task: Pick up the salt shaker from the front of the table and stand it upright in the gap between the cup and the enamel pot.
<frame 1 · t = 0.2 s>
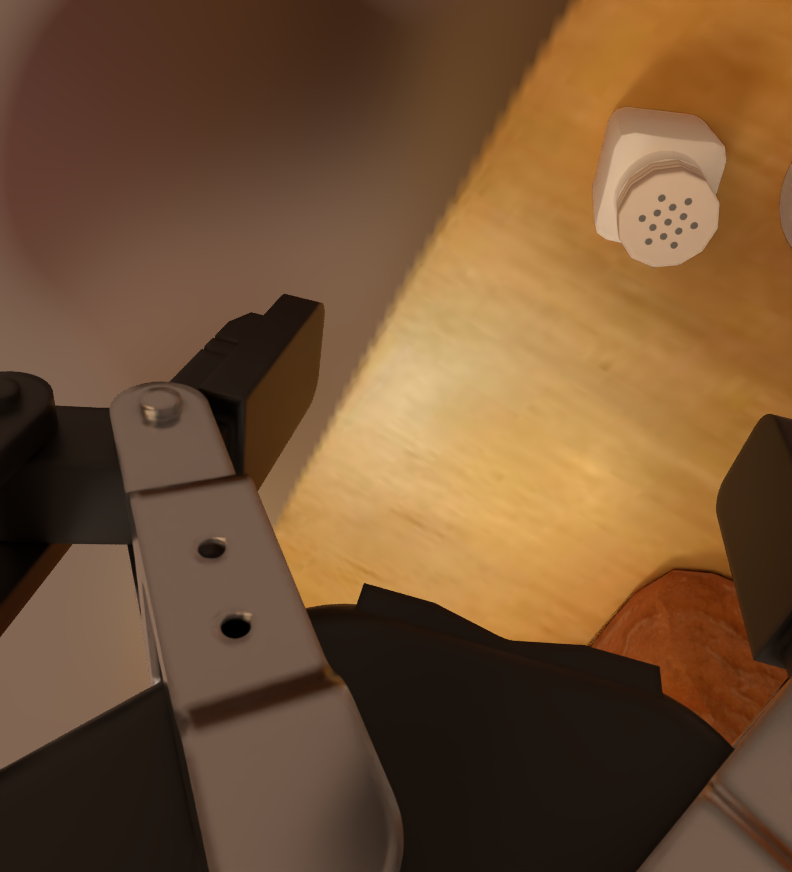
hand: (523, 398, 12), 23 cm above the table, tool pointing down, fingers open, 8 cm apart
salt shaker: (644, 156, 30), on the table
bread: (652, 695, 50), on the table
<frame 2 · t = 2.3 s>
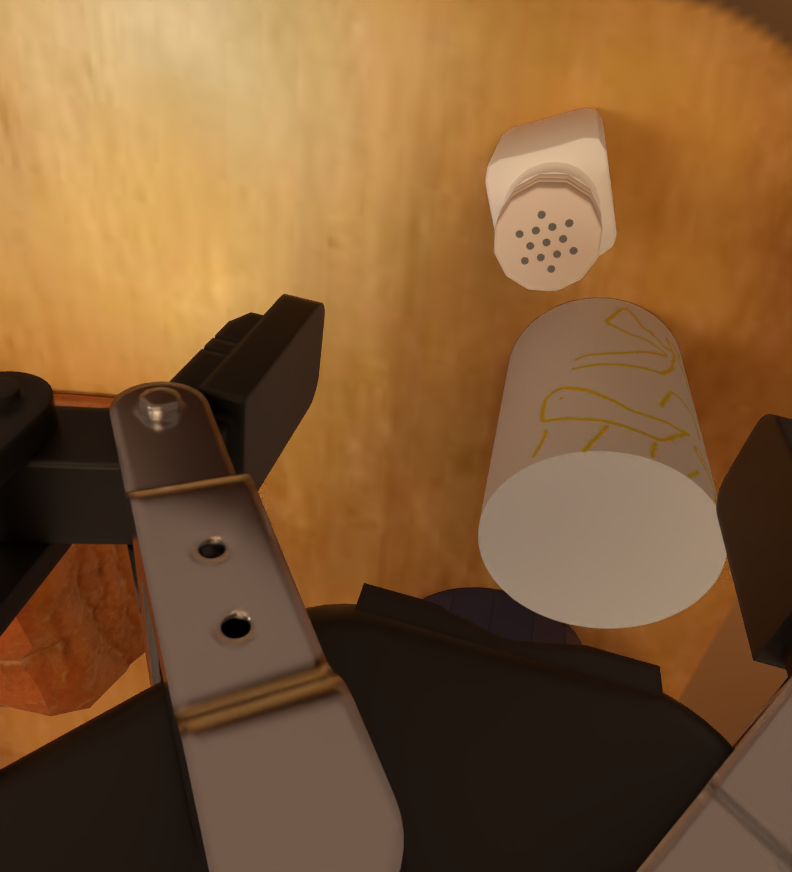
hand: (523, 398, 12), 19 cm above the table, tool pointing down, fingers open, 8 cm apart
salt shaker: (556, 165, 28), on the table
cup: (592, 374, 33), on the table
bread: (33, 467, 46), on the table
pot: (488, 653, 46), on the table
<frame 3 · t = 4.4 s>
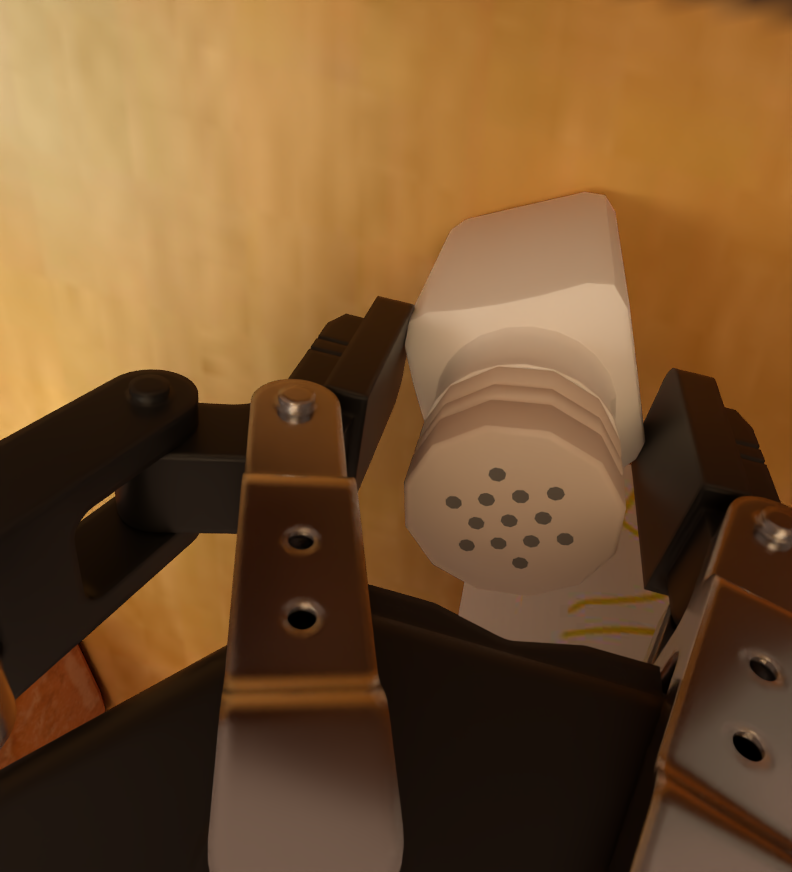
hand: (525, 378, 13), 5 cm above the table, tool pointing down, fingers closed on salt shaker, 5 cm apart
salt shaker: (539, 273, 17), on the table, touching gripper
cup: (594, 556, 22), on the table
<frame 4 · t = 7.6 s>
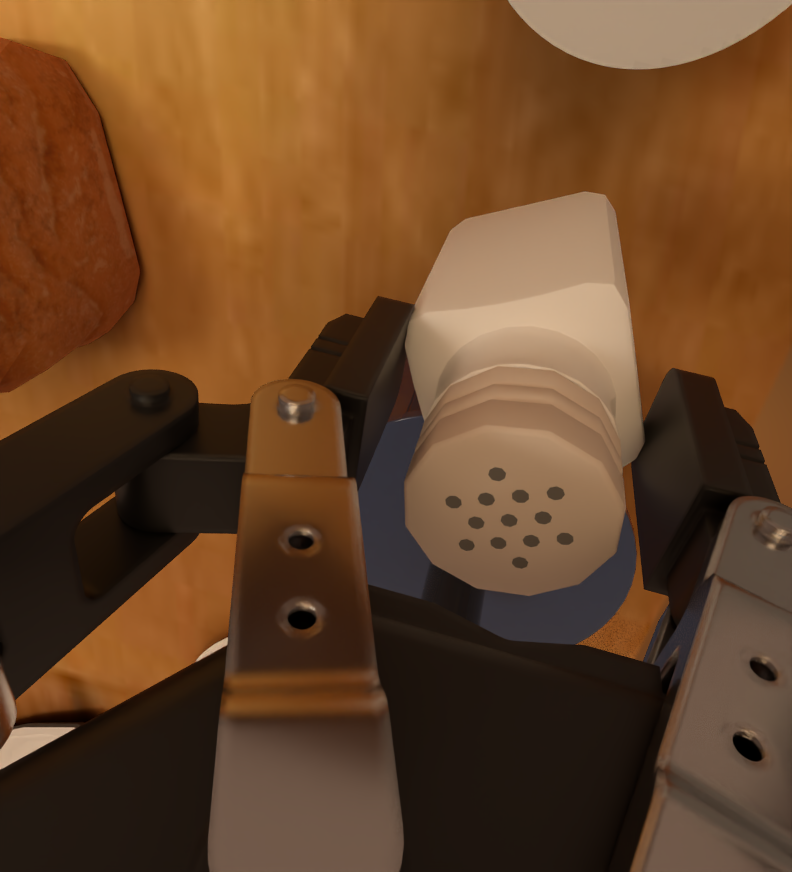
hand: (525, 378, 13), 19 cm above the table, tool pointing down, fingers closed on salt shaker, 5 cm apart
pot lid: (463, 546, 28), point 9 cm above the table, touching pot
salt shaker: (539, 273, 17), point 13 cm above the table, touching gripper
plate: (110, 790, 74), on the table
pot: (487, 423, 36), on the table
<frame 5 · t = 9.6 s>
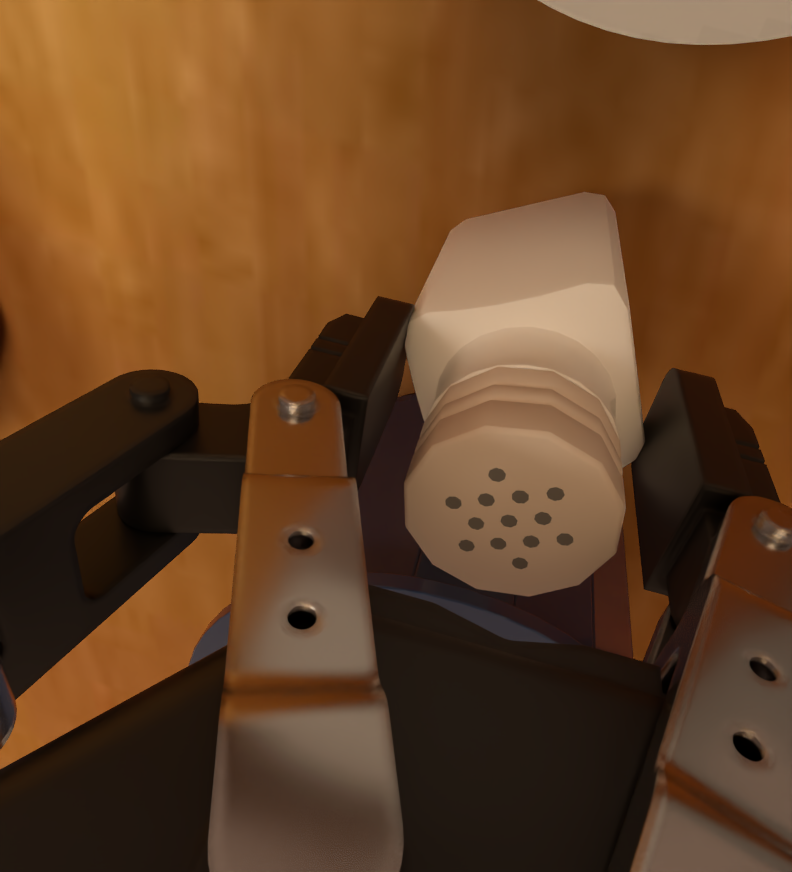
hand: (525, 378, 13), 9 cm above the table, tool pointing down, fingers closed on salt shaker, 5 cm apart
pot lid: (411, 737, 20), point 9 cm above the table, touching pot
salt shaker: (539, 273, 17), point 3 cm above the table, touching gripper
pot: (457, 525, 28), on the table
when the fingers open (5 cm above the table, at t = 11.0 s): salt shaker stays where it is, on the table.
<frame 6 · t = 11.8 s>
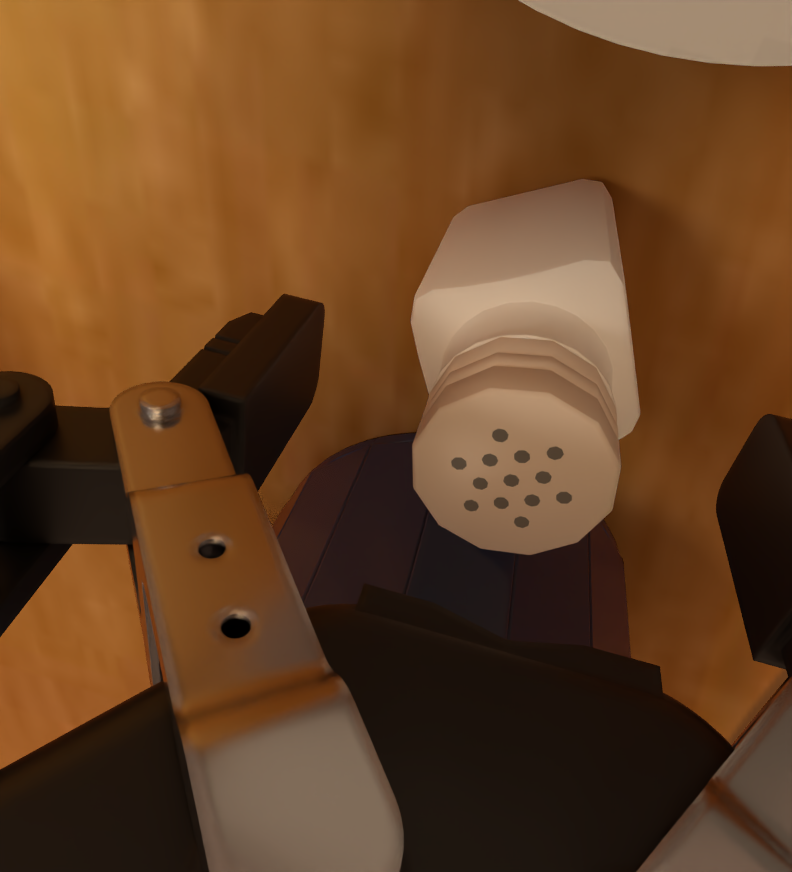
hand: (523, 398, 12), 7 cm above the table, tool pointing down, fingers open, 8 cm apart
salt shaker: (539, 259, 18), on the table
pot: (444, 573, 25), on the table
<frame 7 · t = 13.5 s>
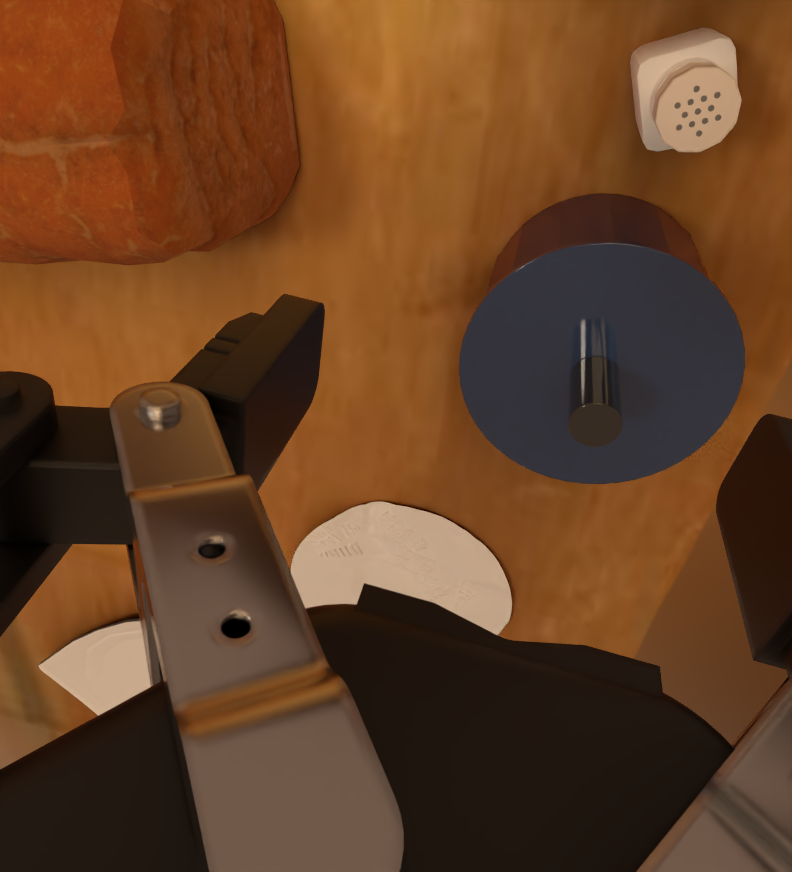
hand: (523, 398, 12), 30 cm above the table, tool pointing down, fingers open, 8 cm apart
pot lid: (594, 372, 34), point 9 cm above the table, touching pot
salt shaker: (672, 78, 35), on the table
plaque: (401, 585, 61), on the table
plate: (193, 692, 80), on the table
bread: (94, 95, 42), on the table
pot: (592, 298, 42), on the table
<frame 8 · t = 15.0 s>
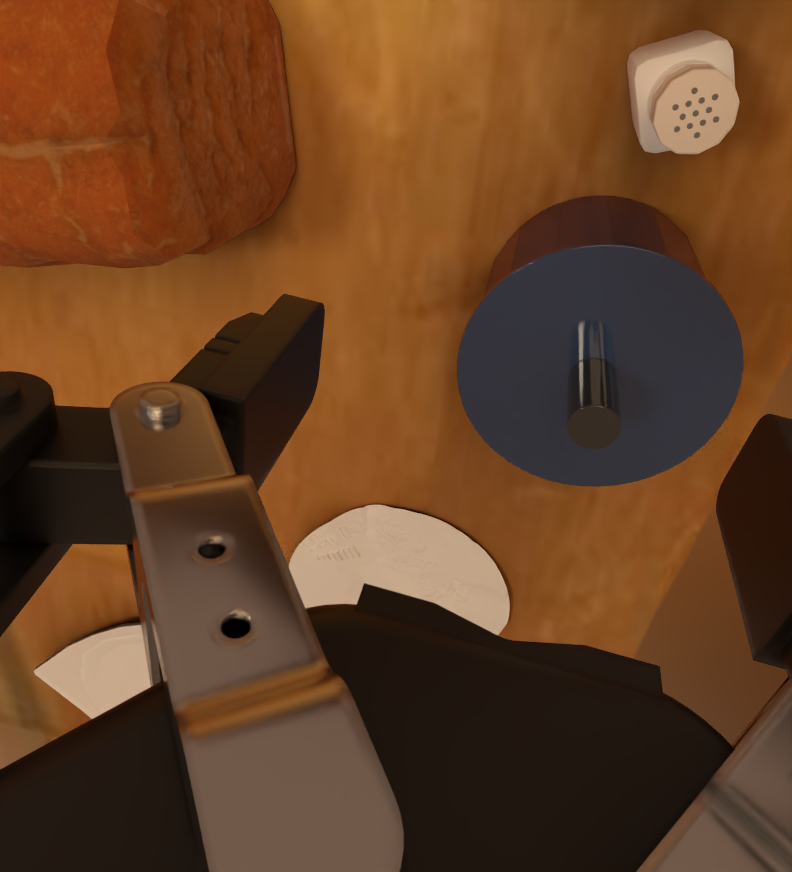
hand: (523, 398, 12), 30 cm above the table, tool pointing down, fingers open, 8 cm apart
pot lid: (592, 374, 34), point 9 cm above the table, touching pot
salt shaker: (669, 80, 35), on the table
plaque: (398, 588, 61), on the table
plate: (189, 697, 80), on the table
bread: (89, 97, 42), on the table
pot: (589, 300, 42), on the table
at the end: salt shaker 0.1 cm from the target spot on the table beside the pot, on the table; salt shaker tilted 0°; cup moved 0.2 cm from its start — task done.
